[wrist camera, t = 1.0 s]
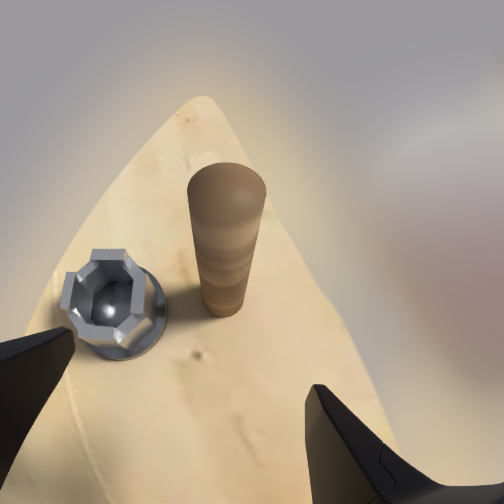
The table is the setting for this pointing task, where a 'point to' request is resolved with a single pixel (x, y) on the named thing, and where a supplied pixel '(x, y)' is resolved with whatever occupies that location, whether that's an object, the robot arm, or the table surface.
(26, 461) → the table surface
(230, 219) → the walnut pin
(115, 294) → the flanged castle nut
